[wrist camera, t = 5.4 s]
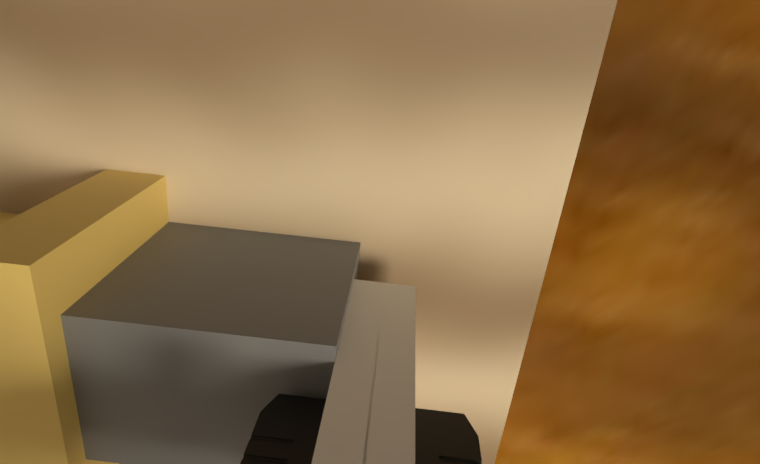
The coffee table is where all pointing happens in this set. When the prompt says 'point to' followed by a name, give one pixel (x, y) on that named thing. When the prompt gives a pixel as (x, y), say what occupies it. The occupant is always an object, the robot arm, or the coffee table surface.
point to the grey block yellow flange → (155, 327)
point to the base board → (331, 142)
